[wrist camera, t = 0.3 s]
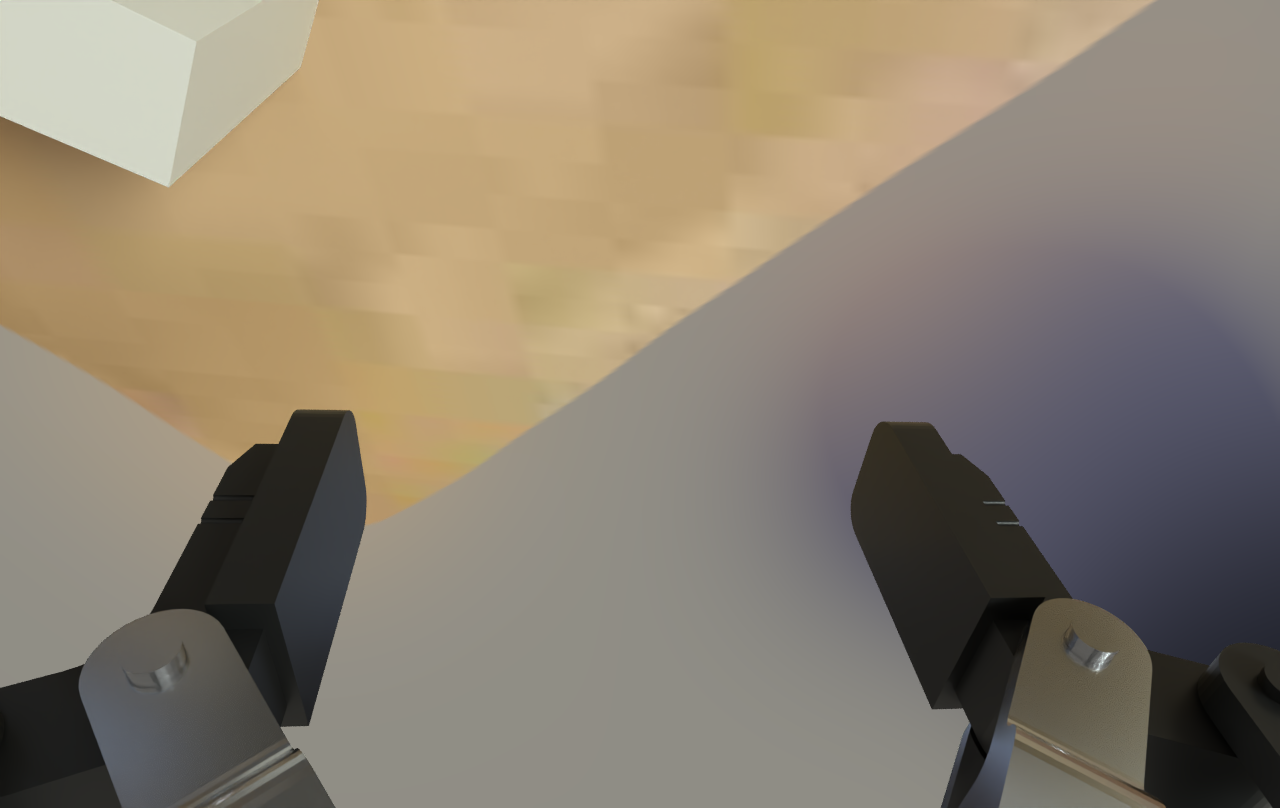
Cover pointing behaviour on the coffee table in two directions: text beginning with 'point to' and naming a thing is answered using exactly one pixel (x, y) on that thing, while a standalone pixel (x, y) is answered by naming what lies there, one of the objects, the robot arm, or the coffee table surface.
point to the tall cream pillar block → (146, 73)
